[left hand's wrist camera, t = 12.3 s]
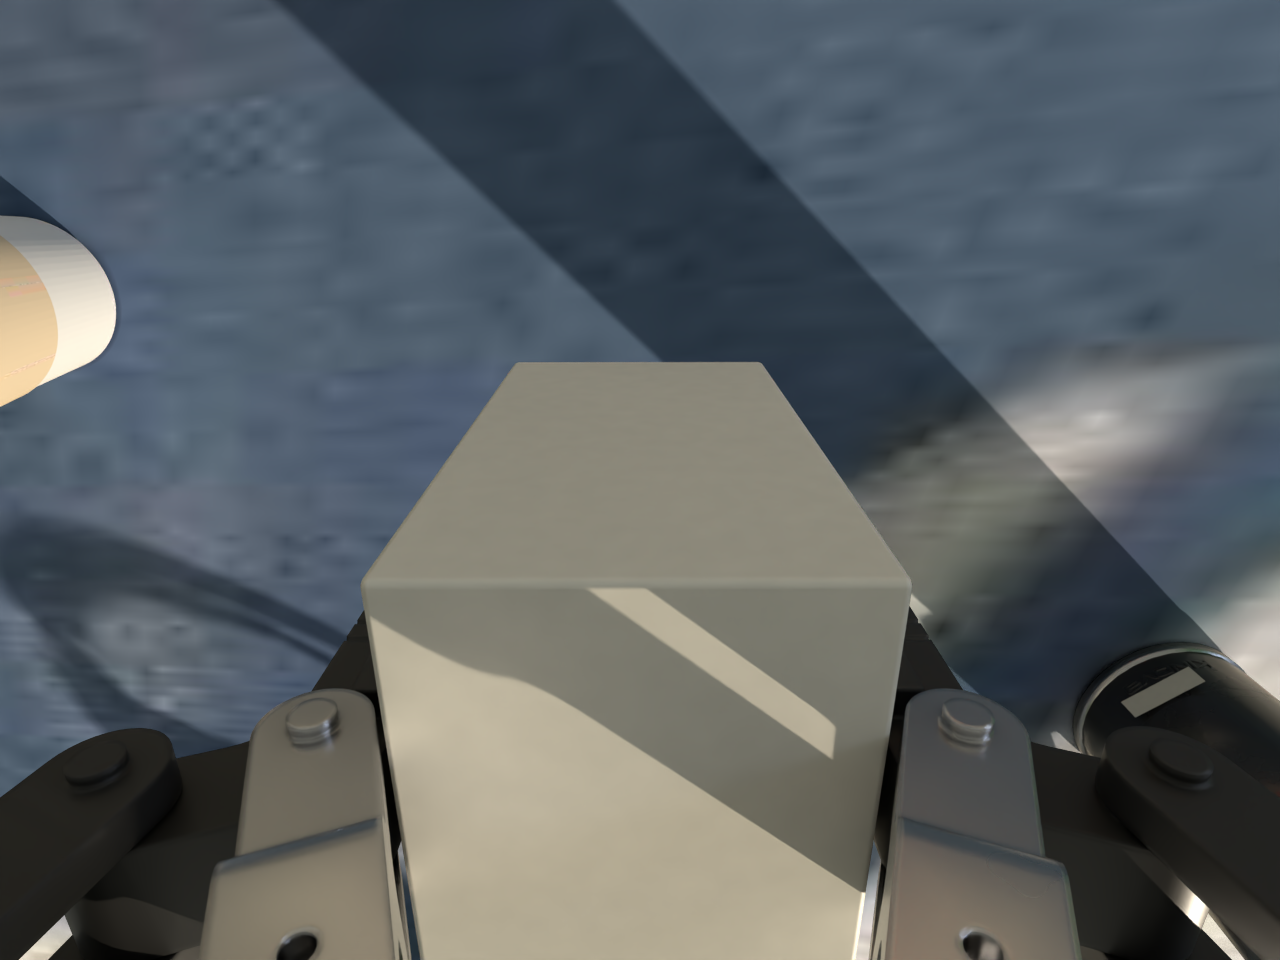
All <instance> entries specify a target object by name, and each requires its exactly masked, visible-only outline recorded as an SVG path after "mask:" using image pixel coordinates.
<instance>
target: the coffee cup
mask: <svg viewBox="0 0 1280 960" xmlns="http://www.w3.org/2000/svg"><path fill="white" fill-rule="evenodd" d="M115 321H116V306H115V299H114V295H113V291H112V288H111V285H110V283H109V281H108V278H107V276H106V274H105V272H104V271H103V269H102V267H101V266H100V264H99V263H98V262H97V260H96V259H95V258H94V256H93V255H92V254H91V253H90V252H89V251H88V250H87V249H86V248H85V247H84V246H83V245H82V244H81V243H80V242H79V241H78V240H76V239H75V238H74V237H72V236H71V235H70V234H68V233H67V232H65V231H63V230H62V229H60V228H58V227H56V226H54V225H52V224H49V223H47V222H44V221H41V220H37V219H33V218H28V217H17V216H0V406H2V405H5V404H7V403H9V402H11V401H13V400H15V399H17V398H19V397H21V396H23V395H25V394H27V393H28V392H30V391H31V390H33V389H34V388H35V387H37V386H39V385H41V384H43V383H46V382H48V381H50V380H52V379H54V378H56V377H59V376H61V375H63V374H65V373H67V372H70V371H72V370H74V369H76V368H78V367H81V366H83V365H85V364H87V363H89V362H91V361H92V360H94V359H95V358H96V357H97V356H99V355H100V354H101V353H102V352H103V350H104V349H105V348H106V346H107V345H108V343H109V341H110V339H111V337H112V334H113V331H114V327H115Z"/></svg>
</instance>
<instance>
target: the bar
mask: <svg viewBox="0 0 1280 960" xmlns="http://www.w3.org/2000/svg"><path fill="white" fill-rule="evenodd" d="M911 591H912V582H911V579H910V577H909V576H908V574H907V573H906V571H905V570H904V568H903V567H902V566H901V564H900V563H899V561H898V560H897V558H896V557H895V555H894V554H893V553H892V551H891V550H890V548H889V547H888V545H887V544H886V542H885V541H884V540H883V538H882V537H881V535H880V534H879V532H878V531H877V529H876V528H875V527H874V525H873V524H872V522H871V521H870V519H869V518H868V516H867V515H866V513H865V512H864V511H863V509H862V508H861V506H860V505H859V503H858V502H857V500H856V499H855V498H854V496H853V495H852V493H851V492H850V490H849V489H848V487H847V486H846V485H845V483H844V482H843V480H842V479H841V477H840V476H839V474H838V473H837V472H836V470H835V469H834V467H833V466H832V464H831V463H830V461H829V460H828V459H827V457H826V456H825V454H824V453H823V451H822V450H821V448H820V447H819V446H818V444H817V443H816V441H815V440H814V438H813V437H812V435H811V434H810V433H809V431H808V430H807V428H806V427H805V425H804V424H803V422H802V421H801V420H800V418H799V417H798V415H797V414H796V412H795V411H794V409H793V408H792V407H791V405H790V404H789V402H788V401H787V399H786V398H785V396H784V395H783V394H782V392H781V391H780V389H779V388H778V386H777V385H776V383H775V382H774V381H773V379H772V378H771V376H770V375H769V373H768V372H767V370H766V369H765V368H764V366H763V365H762V363H759V362H518V363H516V364H515V365H514V366H513V368H512V369H511V371H510V372H509V373H508V375H507V376H506V378H505V379H504V380H503V382H502V383H501V385H500V386H499V387H498V389H497V390H496V392H495V393H494V395H493V396H492V397H491V399H490V400H489V402H488V403H487V404H486V406H485V407H484V409H483V410H482V411H481V413H480V414H479V416H478V417H477V419H476V420H475V421H474V423H473V424H472V426H471V427H470V428H469V430H468V431H467V433H466V434H465V435H464V437H463V438H462V440H461V441H460V442H459V444H458V445H457V447H456V448H455V450H454V451H453V452H452V454H451V455H450V457H449V458H448V459H447V461H446V462H445V464H444V465H443V466H442V468H441V469H440V471H439V472H438V473H437V475H436V476H435V478H434V479H433V481H432V482H431V483H430V485H429V486H428V488H427V489H426V490H425V492H424V493H423V495H422V496H421V497H420V499H419V500H418V502H417V503H416V504H415V506H414V507H413V509H412V510H411V512H410V513H409V514H408V516H407V517H406V519H405V520H404V521H403V523H402V524H401V526H400V527H399V528H398V530H397V531H396V533H395V534H394V535H393V537H392V538H391V540H390V541H389V543H388V544H387V545H386V547H385V548H384V550H383V551H382V552H381V554H380V555H379V557H378V558H377V559H376V561H375V562H374V564H373V565H372V566H371V568H370V569H369V571H368V572H367V574H366V575H365V576H364V578H363V579H362V582H361V592H362V599H363V605H364V611H365V617H366V624H367V630H368V636H369V642H370V648H371V655H372V661H373V667H374V673H375V679H376V686H377V692H378V698H379V704H380V711H381V717H382V723H383V729H384V735H385V742H386V748H387V754H388V760H389V767H390V773H391V779H392V785H393V791H394V798H395V804H396V810H397V816H398V822H399V829H400V835H401V841H402V847H403V854H404V860H405V866H406V872H407V878H408V885H409V891H410V897H411V903H412V909H413V916H414V922H415V928H416V934H417V941H418V947H419V953H420V959H421V960H855V957H856V951H857V944H858V938H859V931H860V925H861V918H862V912H863V905H864V898H865V892H866V885H867V879H868V872H869V866H870V859H871V853H872V846H873V840H874V833H875V827H876V820H877V814H878V807H879V800H880V794H881V787H882V781H883V774H884V768H885V761H886V755H887V748H888V742H889V735H890V729H891V722H892V715H893V709H894V702H895V696H896V689H897V683H898V676H899V670H900V663H901V657H902V650H903V644H904V637H905V631H906V624H907V617H908V611H909V604H910V598H911Z"/></svg>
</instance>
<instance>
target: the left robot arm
mask: <svg viewBox="0 0 1280 960" xmlns="http://www.w3.org/2000/svg"><path fill="white" fill-rule="evenodd" d="M1073 733H1074V738H1075V742H1076V744H1077V747H1078V749H1079V751H1080V752H1081V753H1076V752H1072V751H1067V750H1062V749H1058V748H1053V747H1049V746H1044V745H1041V744H1037V743H1033V742H1030V737H1029V734H1028V731H1027V730H1026V728H1025V726H1024V725H1023V723H1022V722H1021V721H1020V720H1019V719H1018V718H1017V717H1016V716H1015V715H1014V714H1013V713H1012V712H1011V711H1009V710H1008V709H1006V708H1005V707H1004V706H1002V705H1000V704H999V703H997V702H995V701H993V700H991V699H989V698H987V697H984V696H981V695H979V694H976V693H972V692H968V691H964V690H963V689H962V688H961V686H960V684H959V683H958V681H957V680H956V678H955V677H954V675H953V673H952V672H951V670H950V669H949V667H948V666H947V664H946V663H945V661H944V659H943V658H942V656H941V655H940V653H939V652H938V650H937V648H936V647H935V645H934V644H933V642H932V641H931V640H929V639H928V634H927V633H926V631H925V630H924V628H923V627H922V625H921V623H918V619H917V617H916V616H915V614H914V612H913V611H912V609H911V608H910V606H909V611H908V617H907V624H906V631H905V637H904V644H903V650H902V657H901V663H900V670H899V676H898V683H897V689H896V696H895V702H894V709H893V715H892V722H891V729H890V735H889V742H888V748H887V755H886V761H885V768H884V774H883V781H882V787H881V794H880V800H879V807H878V814H877V820H876V827H875V833H874V842H875V845H876V848H877V850H878V853H879V856H880V859H881V862H880V868H879V874H878V882H877V891H876V900H875V908H874V917H873V926H872V935H871V943H870V952H869V960H1232V959H1231V958H1230V957H1229V956H1228V955H1227V954H1226V953H1225V952H1224V951H1223V950H1222V949H1221V948H1220V947H1219V946H1218V945H1217V944H1216V943H1215V942H1214V941H1213V940H1212V939H1211V938H1210V937H1209V936H1208V935H1207V934H1206V933H1205V932H1204V931H1203V930H1202V927H1203V924H1204V922H1205V919H1206V917H1207V914H1208V913H1209V915H1210V916H1211V917H1212V918H1213V920H1214V921H1215V922H1216V923H1217V925H1218V926H1219V927H1220V929H1221V930H1222V931H1223V932H1224V934H1225V935H1226V936H1227V937H1228V939H1229V940H1230V941H1231V943H1232V944H1233V945H1234V946H1235V948H1236V949H1237V950H1238V951H1239V953H1240V954H1241V955H1242V957H1243V958H1244V959H1245V960H1280V701H1279V700H1278V699H1276V698H1275V697H1274V696H1273V695H1271V694H1270V693H1269V692H1268V691H1266V690H1265V689H1264V688H1263V687H1261V686H1260V685H1259V684H1258V683H1256V682H1255V681H1254V680H1253V679H1252V678H1250V677H1249V676H1248V675H1247V674H1246V673H1245V672H1244V670H1243V669H1242V668H1241V667H1239V666H1238V665H1237V664H1236V663H1235V662H1233V661H1232V660H1231V659H1230V658H1228V657H1227V656H1226V655H1224V654H1223V653H1221V652H1220V651H1218V650H1216V649H1213V648H1211V647H1208V646H1205V645H1201V644H1196V643H1185V642H1177V643H1166V644H1160V645H1155V646H1151V647H1148V648H1144V649H1142V650H1139V651H1136V652H1134V653H1132V654H1130V655H1127V656H1126V657H1124V658H1122V659H1120V660H1118V661H1117V662H1115V663H1114V664H1112V665H1111V666H1110V667H1108V668H1107V669H1106V670H1104V671H1103V672H1102V673H1101V674H1100V675H1099V676H1098V677H1097V678H1096V679H1095V680H1094V681H1093V682H1092V683H1091V684H1090V686H1089V687H1088V688H1087V690H1086V691H1085V693H1084V694H1083V696H1082V698H1081V699H1080V701H1079V704H1078V706H1077V708H1076V712H1075V715H1074V721H1073ZM400 843H401V835H400V829H399V822H398V816H397V810H396V804H395V798H394V791H393V785H392V779H391V773H390V767H389V760H388V754H387V748H386V742H385V735H384V729H383V723H382V717H381V711H380V704H379V698H378V692H377V686H376V679H375V673H374V667H373V661H372V655H371V648H370V642H369V636H368V630H367V624H366V617H365V611H363V613H362V614H361V616H360V617H359V619H358V623H357V624H355V625H354V626H353V628H352V630H351V631H350V633H349V634H348V636H347V641H344V642H343V643H342V645H341V647H340V648H339V650H338V651H337V653H336V654H335V656H334V657H333V659H332V660H331V662H330V664H329V665H328V667H327V668H326V670H325V671H324V673H323V674H322V676H321V677H320V679H319V681H318V682H317V684H316V685H315V687H314V688H313V690H312V691H311V692H308V693H304V694H301V695H299V696H296V697H293V698H291V699H289V700H287V701H285V702H283V703H281V704H280V705H278V706H276V707H275V708H273V709H272V710H271V711H269V712H268V713H267V714H266V715H265V716H264V717H263V718H262V719H261V720H260V721H259V722H258V723H257V725H256V726H255V728H254V730H253V731H252V734H251V737H250V741H248V742H245V743H242V744H239V745H235V746H231V747H227V748H223V749H218V750H213V751H209V752H204V753H200V754H195V755H190V756H186V757H181V758H177V759H176V757H175V753H174V750H173V747H172V743H171V741H170V739H169V738H168V737H167V736H166V735H165V734H163V733H161V732H159V731H156V730H152V729H145V728H132V729H124V730H117V731H113V732H109V733H105V734H102V735H99V736H95V737H93V738H90V739H88V740H85V741H83V742H81V743H78V744H76V745H74V746H72V747H70V748H68V749H67V750H65V751H63V752H62V753H60V754H58V755H57V756H55V757H54V758H52V759H51V760H49V761H48V762H47V763H45V764H44V765H43V766H41V767H40V768H39V769H37V770H36V771H35V772H33V773H32V774H31V775H30V776H28V777H27V778H26V779H24V780H23V781H22V782H20V783H19V784H18V785H16V786H15V787H14V788H12V789H11V790H10V791H8V792H7V793H6V794H4V795H3V796H2V797H0V960H19V959H20V958H21V957H22V956H23V955H24V954H25V953H26V952H27V951H28V950H29V949H30V948H31V947H32V946H33V945H34V944H35V943H36V942H37V941H38V940H39V939H40V938H41V937H42V936H43V935H44V934H45V933H46V932H47V931H48V930H49V929H50V928H52V927H53V926H54V925H55V924H56V923H57V922H58V921H59V920H60V919H61V918H62V917H63V916H64V915H65V917H66V920H67V922H68V925H69V927H70V929H71V932H72V934H73V935H72V936H71V937H70V938H69V939H68V940H67V941H66V942H65V943H64V944H63V945H62V946H61V947H60V948H59V949H58V950H57V951H56V952H55V953H54V954H53V955H52V956H51V957H50V958H49V959H48V960H411V952H410V943H409V935H408V926H407V917H406V908H405V900H404V891H403V882H402V874H401V868H400V862H399V856H398V848H399V845H400Z"/></svg>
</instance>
